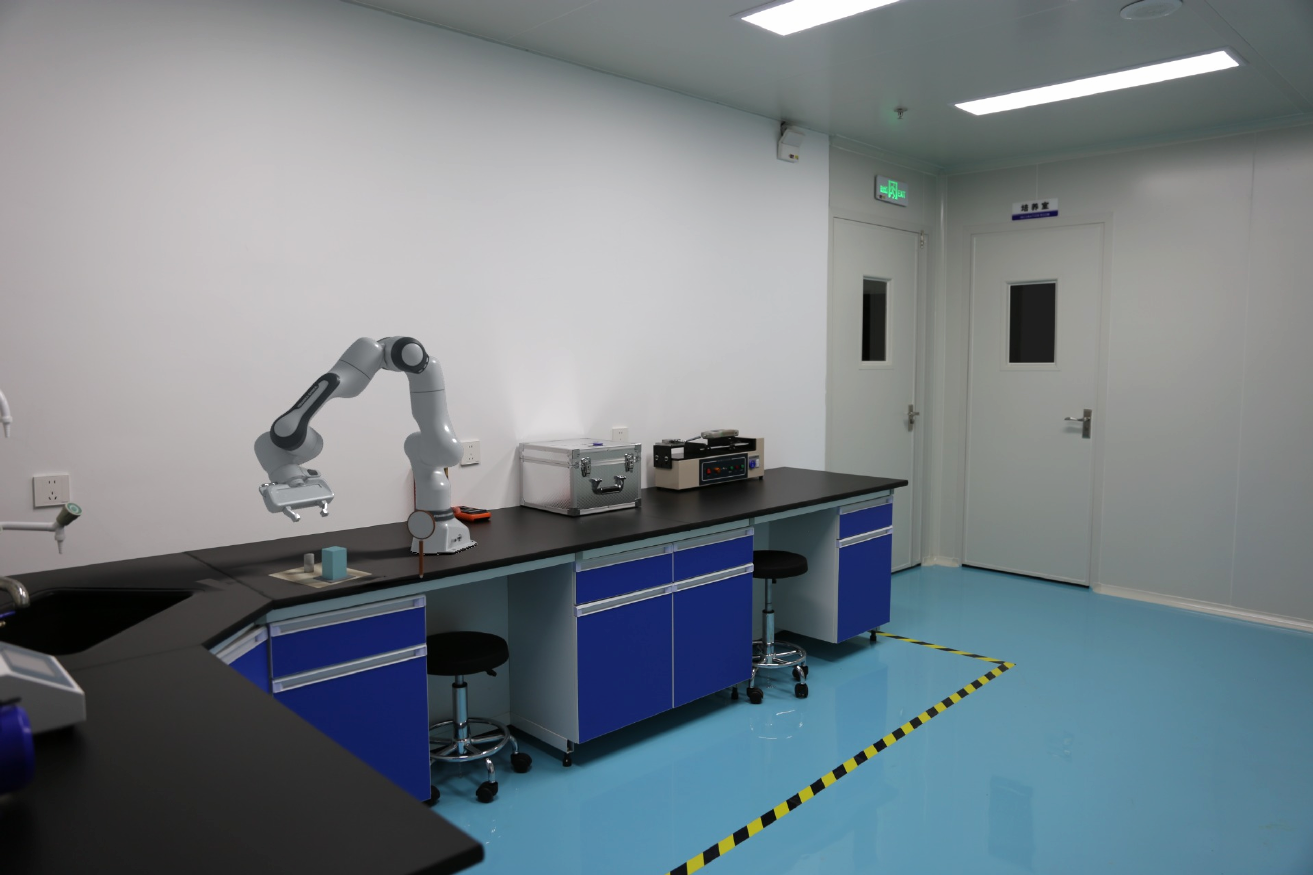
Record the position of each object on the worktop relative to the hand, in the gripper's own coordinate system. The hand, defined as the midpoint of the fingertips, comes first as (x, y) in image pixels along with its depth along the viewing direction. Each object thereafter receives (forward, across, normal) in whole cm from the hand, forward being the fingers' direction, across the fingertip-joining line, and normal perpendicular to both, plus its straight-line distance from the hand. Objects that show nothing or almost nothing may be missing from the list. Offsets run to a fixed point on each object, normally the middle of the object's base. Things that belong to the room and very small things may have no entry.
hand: (311, 518), depth 239 cm
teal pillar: (+18, 0, +4) cm, 18 cm away
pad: (+18, 0, +4) cm, 18 cm away
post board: (+15, 0, +10) cm, 18 cm away
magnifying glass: (+30, +18, -5) cm, 35 cm away
